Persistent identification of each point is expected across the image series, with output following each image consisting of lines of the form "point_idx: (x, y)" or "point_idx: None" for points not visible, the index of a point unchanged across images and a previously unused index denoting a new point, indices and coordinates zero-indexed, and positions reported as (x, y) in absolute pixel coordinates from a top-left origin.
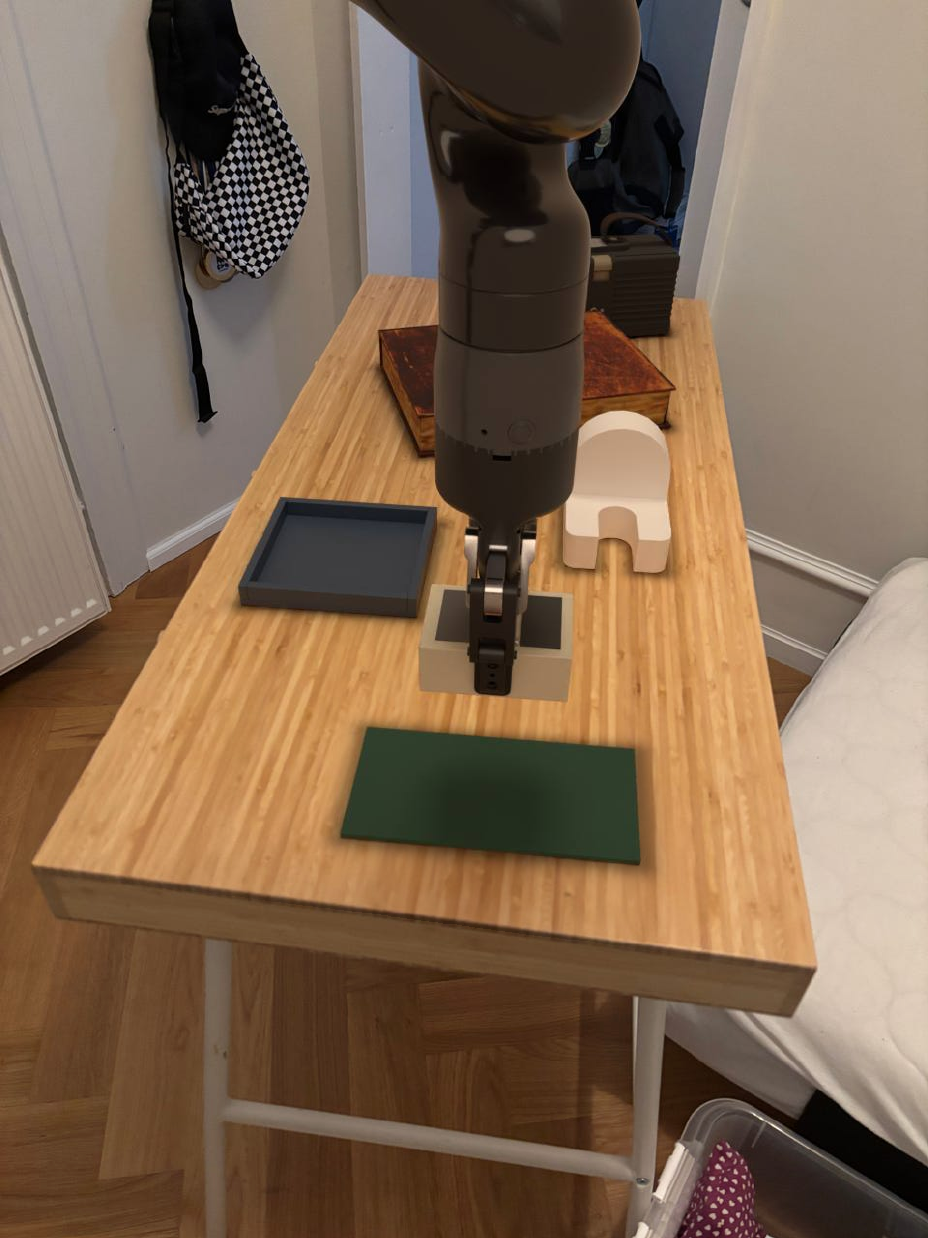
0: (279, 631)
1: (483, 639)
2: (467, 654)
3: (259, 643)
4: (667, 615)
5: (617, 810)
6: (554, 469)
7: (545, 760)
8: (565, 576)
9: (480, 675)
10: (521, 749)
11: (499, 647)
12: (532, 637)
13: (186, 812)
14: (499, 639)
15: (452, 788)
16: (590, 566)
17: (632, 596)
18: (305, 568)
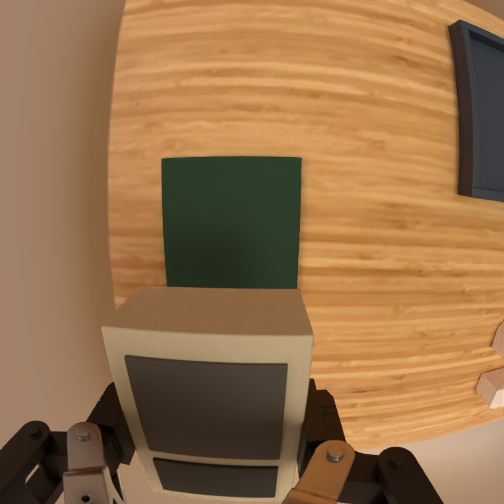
0: (425, 58)
1: (46, 458)
2: (28, 427)
3: (405, 41)
4: (434, 400)
5: None
6: None
7: None
8: (489, 325)
9: (98, 401)
10: None
11: (42, 470)
12: (172, 472)
13: (180, 25)
14: (60, 473)
15: (226, 254)
16: (493, 344)
17: (458, 376)
18: (499, 84)
